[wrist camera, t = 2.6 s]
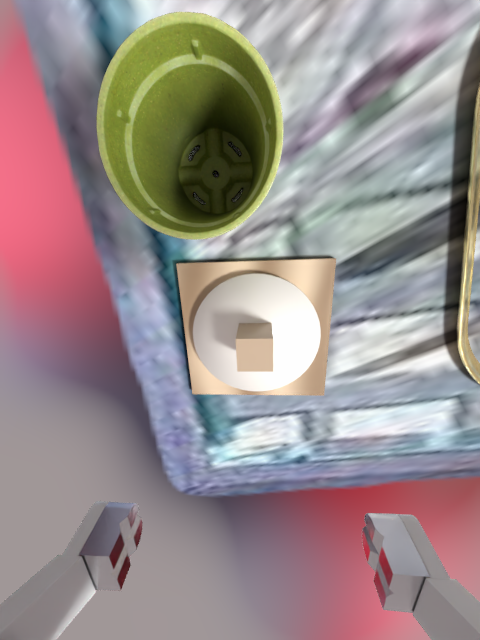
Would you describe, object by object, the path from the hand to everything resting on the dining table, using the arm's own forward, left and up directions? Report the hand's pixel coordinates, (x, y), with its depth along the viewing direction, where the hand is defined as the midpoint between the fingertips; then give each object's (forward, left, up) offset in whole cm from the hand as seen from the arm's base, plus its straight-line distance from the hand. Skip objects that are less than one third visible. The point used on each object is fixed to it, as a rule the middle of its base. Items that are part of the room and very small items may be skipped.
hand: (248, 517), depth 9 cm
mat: (0, 0, -17) cm, 17 cm away
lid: (0, 0, -17) cm, 17 cm away
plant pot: (+3, -14, -17) cm, 23 cm away
